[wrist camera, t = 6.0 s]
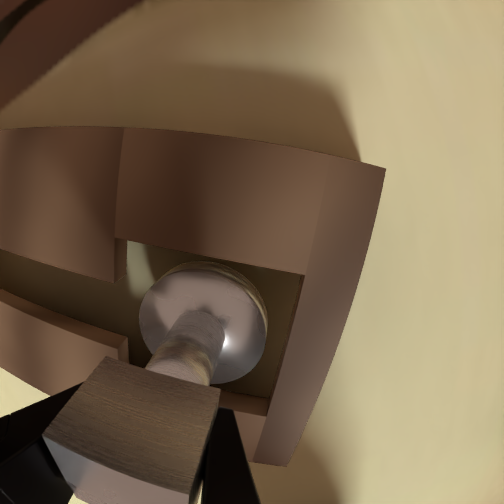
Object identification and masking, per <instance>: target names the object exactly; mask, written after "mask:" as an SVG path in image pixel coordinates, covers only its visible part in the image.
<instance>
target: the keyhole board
mask: <svg viewBox="0 0 504 504" xmlns="http://www.w3.org/2000/svg"><path fill="white" fill-rule="evenodd" d="M385 172H386V168H382V167H378V166H374V165H371V164H367V163H363V162H359V161H355V160H351V159H346V158H342V157H338V156H333V155H329V154H324V153H320V152H315V151H310V150H305V149H300V148H295V147H290V146H284V145H279V144H273V143H267V142H261V141H255V140H248V139H242V138H235V137H227V136H219V135H211V134H203V133H193V132H183V131H172V130H160V129H145V128H127V127H91V126H70V127H35V128H18V129H5V130H0V249H2V250H5V251H8V252H11V253H14V254H17V255H20V256H23V257H26V258H29V259H32V260H35V261H38V262H41V263H45V264H48V265H51V266H54V267H58V268H61V269H64V270H68V271H71V272H74V273H78V274H81V275H85V276H88V277H92V278H95V279H99V280H103V281H106V282H110V283H116V282H117V281H118V280H119V279H121V278H122V277H123V276H125V275H126V267H127V240H129V241H134V242H138V243H143V244H148V245H153V246H158V247H163V248H168V249H173V250H178V251H183V252H188V253H193V254H198V255H203V256H208V257H213V258H218V259H223V260H229V261H234V262H239V263H244V264H249V265H254V266H260V267H265V268H270V269H275V270H281V271H286V272H291V273H296V274H301V278H300V283H299V287H298V291H297V295H296V299H295V303H294V307H293V311H292V315H291V319H290V323H289V327H288V331H287V335H286V339H285V342H284V346H283V350H282V354H281V357H280V361H279V365H278V368H277V372H276V375H275V379H274V383H273V386H272V390H271V393H270V396H269V399H268V398H262V397H256V396H251V395H246V394H240V393H235V392H231V391H226V390H220V396H219V403H218V407H225V408H230V409H233V411H234V413H235V417H236V421H237V425H238V428H239V432H240V435H241V439H242V442H243V446H244V449H245V453H246V456H247V460H248V461H249V462H255V463H262V464H269V465H276V466H285V467H286V466H287V464H288V462H289V460H290V458H291V456H292V454H293V452H294V450H295V448H296V446H297V444H298V442H299V439H300V437H301V435H302V433H303V431H304V428H305V426H306V424H307V422H308V419H309V417H310V415H311V413H312V410H313V408H314V405H315V403H316V401H317V398H318V396H319V393H320V391H321V388H322V386H323V383H324V381H325V378H326V376H327V373H328V371H329V368H330V365H331V363H332V360H333V357H334V355H335V352H336V349H337V346H338V344H339V341H340V338H341V335H342V332H343V329H344V326H345V323H346V320H347V317H348V314H349V311H350V308H351V305H352V302H353V299H354V295H355V292H356V289H357V285H358V282H359V279H360V275H361V272H362V268H363V265H364V261H365V257H366V254H367V250H368V246H369V242H370V239H371V235H372V231H373V227H374V222H375V218H376V214H377V210H378V205H379V201H380V196H381V192H382V187H383V182H384V177H385ZM105 356H108V357H111V358H113V359H116V360H119V361H122V362H125V363H128V364H129V354H128V337H126V336H123V335H119V334H116V333H113V332H110V331H107V330H104V329H101V328H98V327H95V326H92V325H89V324H87V323H84V322H81V321H78V320H75V319H73V318H70V317H67V316H65V315H62V314H59V313H57V312H54V311H52V310H49V309H47V308H44V307H42V306H39V305H37V304H34V303H32V302H30V301H27V300H25V299H22V298H20V297H18V296H16V295H13V294H11V293H9V292H7V291H5V290H2V289H0V367H1V368H3V369H5V370H6V371H8V372H9V373H11V374H13V375H14V376H16V377H18V378H19V379H21V380H23V381H24V382H26V383H28V384H30V385H31V386H33V387H35V388H37V389H38V390H40V391H42V392H44V393H46V394H48V395H50V396H53V395H55V394H57V393H59V392H62V391H64V390H66V389H68V388H71V387H73V386H75V385H77V384H79V383H82V382H84V381H85V380H86V379H87V378H88V377H89V375H90V374H91V373H92V372H93V371H94V369H95V368H96V367H97V366H98V365H99V363H100V362H101V361H102V360H103V359H104V358H105Z"/></svg>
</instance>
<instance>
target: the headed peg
mask: <svg viewBox="0 0 504 504" xmlns="http://www.w3.org/2000/svg"><path fill="white" fill-rule="evenodd" d="M139 326H140V330H141V334H142V337H143V340H144V342H145V344H146V346H147V347H148V349H149V350H150V352H151V353H152V355H153V356H152V358H151V359H150V361H149V362H148V364H147V366H146V367H145V369H144V368H141V367H137V366H134V365H131V364H128V363H125V362H122V361H119V360H116V359H113V358H111V357H108V356H105V358H104V359H103V360H102V361H101V362H100V363H99V365H98V366H97V367H96V368H95V369H94V371H93V372H92V373H91V374H90V375H89V377H88V378H87V379H86V380H85V381H84V383H83V384H82V385H81V386H80V387H79V389H78V390H77V391H76V392H75V394H74V395H73V396H72V397H71V398H70V400H69V401H68V402H67V403H66V405H65V406H64V407H63V408H62V410H61V411H60V412H59V413H58V415H57V416H56V417H55V418H54V420H53V421H52V422H51V423H50V425H49V426H48V427H47V428H46V430H45V431H44V432H43V434H42V436H43V438H44V441H45V443H46V445H47V447H48V449H49V451H50V452H51V454H52V456H53V458H54V460H55V462H56V464H57V466H58V467H59V469H60V471H61V473H62V474H63V476H64V478H65V480H66V481H67V483H68V485H69V486H70V488H71V489H72V491H73V493H74V494H75V496H76V497H77V498H78V499H80V500H83V501H85V502H87V503H89V504H197V503H198V499H199V496H200V492H201V489H202V484H203V476H204V467H205V459H206V451H207V444H208V441H209V437H210V434H211V431H212V428H213V424H214V421H215V418H216V415H217V409H218V403H219V396H220V390H221V389H219V388H214V387H210V384H220V383H226V382H230V381H233V380H236V379H239V378H240V377H242V376H244V375H246V374H247V373H248V372H250V371H251V370H252V369H253V368H254V367H255V366H256V364H257V363H258V362H259V360H260V358H261V356H262V354H263V351H264V348H265V342H266V335H267V327H268V316H267V310H266V307H265V303H264V301H263V299H262V297H261V295H260V294H259V292H258V290H257V289H256V288H255V287H254V285H253V284H252V283H251V282H250V281H249V280H248V279H247V278H246V277H244V276H243V275H242V274H240V273H239V272H237V271H235V270H234V269H232V268H230V267H227V266H225V265H222V264H219V263H215V262H209V261H192V262H187V263H183V264H180V265H178V266H175V267H174V268H172V269H170V270H169V271H168V272H166V273H165V274H164V275H163V276H162V277H161V278H160V279H159V280H158V281H157V282H156V283H155V284H154V285H153V286H152V287H151V288H150V289H149V290H148V292H147V293H146V295H145V296H144V298H143V300H142V303H141V306H140V311H139Z"/></svg>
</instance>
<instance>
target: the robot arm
mask: <svg viewBox="0 0 504 504" xmlns="http://www.w3.org/2000/svg"><path fill="white" fill-rule="evenodd" d="M83 383H84V382H82V383H79V384H77V385H75V386H73V387H71V388H68V389H66V390H64V391H62V392H59V393H57V394H55V395H53V396H50V397H48V398H46V399H44V400H41V401H39V402H37V403H34V404H32V405H30V406H27V407H25V408H23V409H20V410H18V411H15V412H13V413H11V414H8V415H6V416H3V417H1V418H0V504H68V502H69V501H70V499H71V497H72V495H73V491H72V489H71V488H70V486H69V485H68V483H67V481H66V480H65V478H64V476H63V474H62V473H61V471H60V469H59V467H58V466H57V464H56V462H55V460H54V458H53V456H52V454H51V452H50V451H49V449H48V447H47V445H46V443H45V441H44V438H43V436H42V434H43V432H44V431H45V430H46V428H47V427H48V426H49V425H50V423H51V422H52V421H53V420H54V418H55V417H56V416H57V415H58V413H59V412H60V411H61V410H62V408H63V407H64V406H65V405H66V403H67V402H68V401H69V400H70V398H71V397H72V396H73V395H74V394H75V392H76V391H77V390H78V389H79V387H80V386H81V385H82V384H83ZM201 504H261V502H260V499H259V496H258V493H257V489H256V486H255V483H254V480H253V477H252V473H251V470H250V467H249V463H248V460H247V456H246V453H245V449H244V446H243V442H242V439H241V435H240V432H239V428H238V425H237V421H236V417H235V413H234V411H233V409H230V408H225V407H218V409H217V415H216V418H215V421H214V424H213V428H212V431H211V434H210V437H209V441H208V444H207V451H206V459H205V467H204V476H203V484H202V495H201Z"/></svg>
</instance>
